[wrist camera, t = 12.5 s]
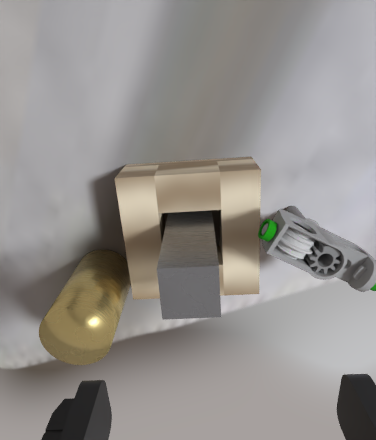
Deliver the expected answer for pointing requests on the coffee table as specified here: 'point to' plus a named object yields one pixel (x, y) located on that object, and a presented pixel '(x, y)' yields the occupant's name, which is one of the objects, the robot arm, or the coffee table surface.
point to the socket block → (185, 202)
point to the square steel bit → (189, 267)
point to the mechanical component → (317, 250)
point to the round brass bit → (87, 309)
